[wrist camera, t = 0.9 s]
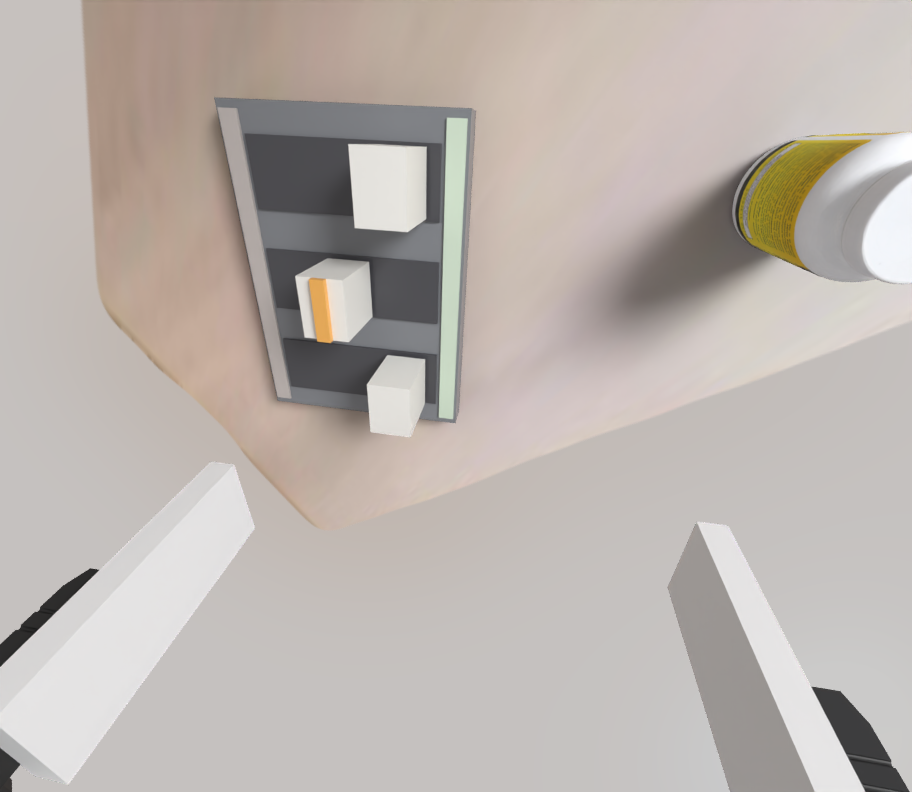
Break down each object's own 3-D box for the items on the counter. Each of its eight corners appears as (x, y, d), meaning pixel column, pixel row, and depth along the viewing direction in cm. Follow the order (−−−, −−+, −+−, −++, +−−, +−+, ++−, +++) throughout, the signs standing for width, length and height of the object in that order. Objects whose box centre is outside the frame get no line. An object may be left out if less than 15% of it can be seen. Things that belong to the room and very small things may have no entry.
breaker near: (377, 144, 25) (348, 144, 21) (426, 146, 25) (406, 147, 21) (381, 215, 27) (354, 228, 23) (426, 219, 27) (407, 232, 23)
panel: (233, 100, 27) (212, 97, 26) (475, 110, 26) (471, 108, 24) (288, 389, 39) (276, 401, 37) (458, 410, 37) (454, 424, 35)
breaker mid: (327, 258, 29) (291, 277, 25) (369, 261, 29) (340, 282, 25) (333, 313, 31) (301, 339, 27) (372, 316, 31) (346, 344, 27)
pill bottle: (729, 260, 28) (829, 319, 18) (727, 158, 25) (843, 166, 16) (842, 231, 26) (1017, 280, 17) (854, 118, 23) (1070, 100, 14)
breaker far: (387, 355, 32) (366, 384, 28) (425, 359, 32) (409, 389, 28) (389, 398, 34) (370, 432, 31) (424, 403, 34) (410, 437, 30)
